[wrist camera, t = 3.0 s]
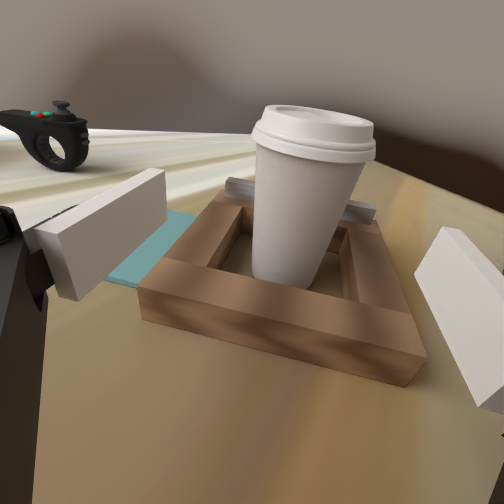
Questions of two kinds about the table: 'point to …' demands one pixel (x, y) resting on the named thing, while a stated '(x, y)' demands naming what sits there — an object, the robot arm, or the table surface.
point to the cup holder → (288, 295)
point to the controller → (55, 125)
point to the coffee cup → (303, 187)
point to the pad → (151, 250)
